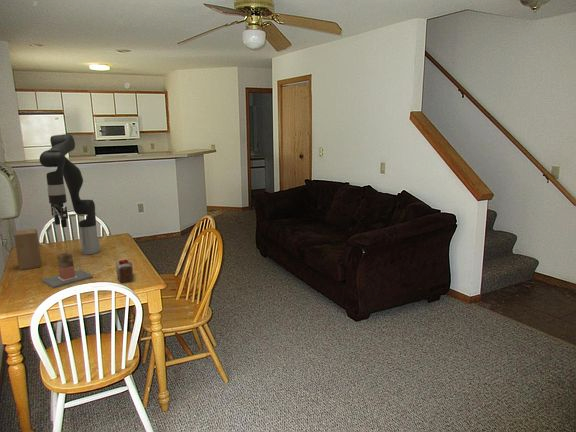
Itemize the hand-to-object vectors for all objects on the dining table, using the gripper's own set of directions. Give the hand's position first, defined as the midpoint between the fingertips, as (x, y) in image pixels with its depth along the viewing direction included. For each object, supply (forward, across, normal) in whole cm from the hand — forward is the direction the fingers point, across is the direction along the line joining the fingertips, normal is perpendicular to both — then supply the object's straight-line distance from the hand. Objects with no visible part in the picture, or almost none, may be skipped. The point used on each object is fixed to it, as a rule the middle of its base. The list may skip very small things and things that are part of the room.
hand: (61, 225), depth 204 cm
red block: (+27, 0, 0) cm, 27 cm away
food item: (+28, -21, -20) cm, 41 cm away
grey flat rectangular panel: (+28, 0, 0) cm, 28 cm away
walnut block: (+21, 0, 0) cm, 21 cm away
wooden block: (+28, +38, +6) cm, 47 cm away
